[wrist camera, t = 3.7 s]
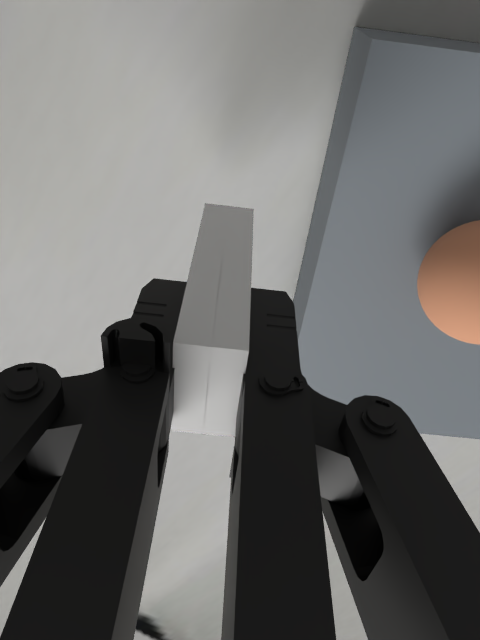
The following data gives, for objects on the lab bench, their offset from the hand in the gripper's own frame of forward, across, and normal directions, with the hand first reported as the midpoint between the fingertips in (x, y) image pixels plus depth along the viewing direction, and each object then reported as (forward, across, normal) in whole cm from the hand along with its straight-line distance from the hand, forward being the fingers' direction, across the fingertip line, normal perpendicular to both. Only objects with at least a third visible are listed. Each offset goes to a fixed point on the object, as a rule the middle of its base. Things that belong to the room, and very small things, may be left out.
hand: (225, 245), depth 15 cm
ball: (0, +8, 0) cm, 8 cm away
